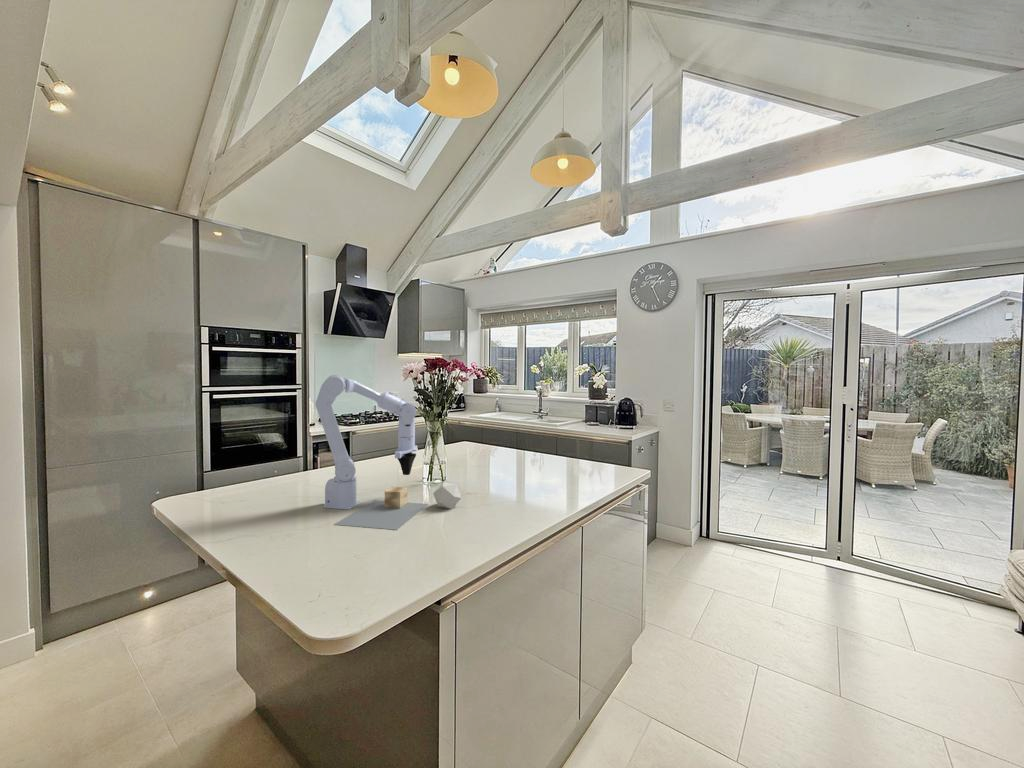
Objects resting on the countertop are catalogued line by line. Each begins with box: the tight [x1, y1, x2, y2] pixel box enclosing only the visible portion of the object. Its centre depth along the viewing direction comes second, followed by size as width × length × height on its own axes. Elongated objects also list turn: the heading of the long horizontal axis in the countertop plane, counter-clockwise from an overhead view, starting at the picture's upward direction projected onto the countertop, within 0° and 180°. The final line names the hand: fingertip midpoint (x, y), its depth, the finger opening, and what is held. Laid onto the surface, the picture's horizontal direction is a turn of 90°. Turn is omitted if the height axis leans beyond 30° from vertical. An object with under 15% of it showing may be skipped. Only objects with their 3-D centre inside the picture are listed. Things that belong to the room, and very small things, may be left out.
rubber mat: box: [333, 499, 429, 531], centre depth 135 cm, size 20×24×1 cm
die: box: [432, 482, 462, 510], centre depth 142 cm, size 8×9×10 cm
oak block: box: [384, 486, 408, 509], centre depth 143 cm, size 6×6×6 cm
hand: (406, 474), depth 150 cm, fingers closed
